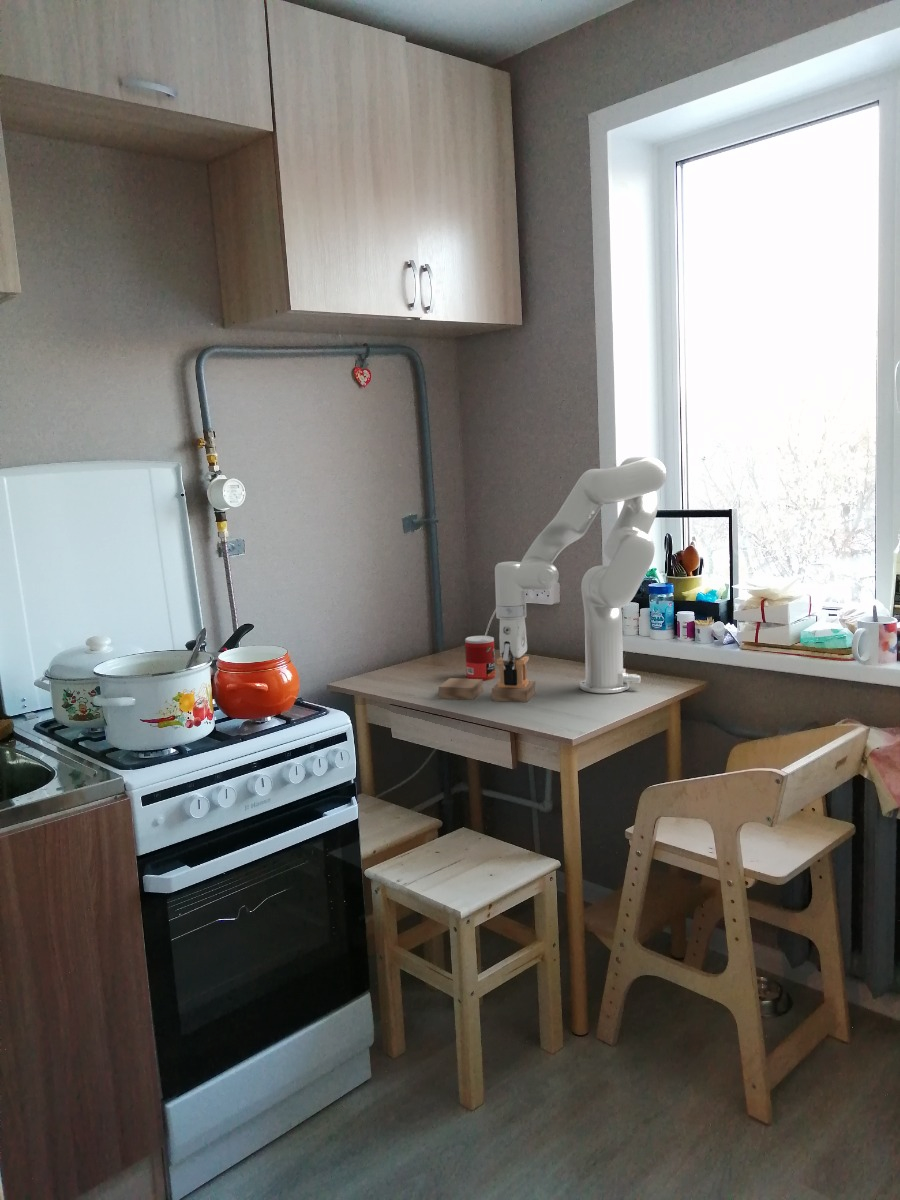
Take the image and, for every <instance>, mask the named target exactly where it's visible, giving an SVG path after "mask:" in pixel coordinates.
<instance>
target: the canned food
mask: <svg viewBox="0 0 900 1200" xmlns="http://www.w3.org/2000/svg"><path fill="white" fill-rule="evenodd" d="M464 648H465V649H464V650H465V669H466V670H465V671H466V674H465V675H466V677H467V678H466V679H483V681H490V680H492V679H494V678H495V676H496V663H495V662H496V660H495V658H496V657H495V655H496V654H495V637H493V636H490V635H472V636H467V637H466V638H464Z"/></svg>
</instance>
